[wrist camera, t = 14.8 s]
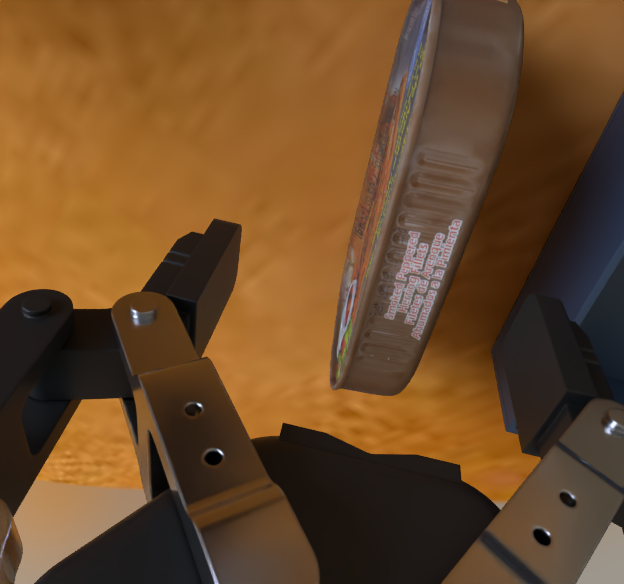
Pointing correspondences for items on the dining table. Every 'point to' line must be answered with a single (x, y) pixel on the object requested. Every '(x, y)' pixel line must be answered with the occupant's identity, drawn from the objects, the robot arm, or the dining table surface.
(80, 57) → the dining table surface
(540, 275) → the carton
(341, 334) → the tin
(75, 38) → the dining table surface
